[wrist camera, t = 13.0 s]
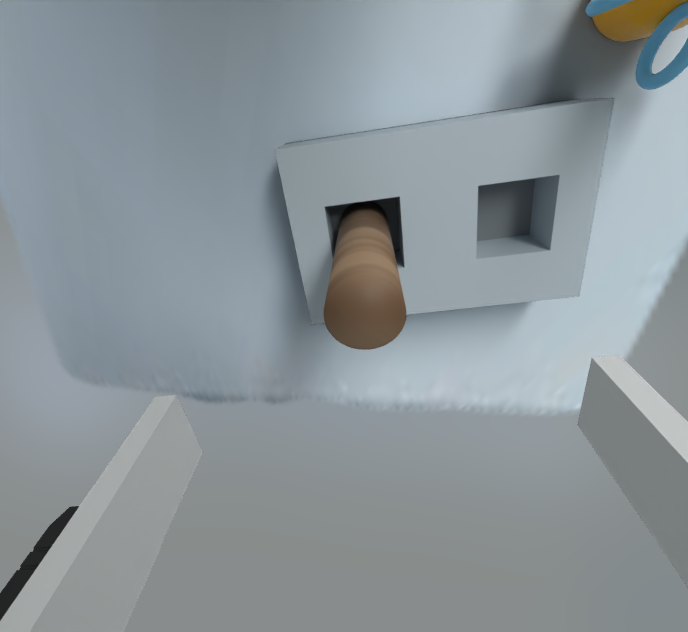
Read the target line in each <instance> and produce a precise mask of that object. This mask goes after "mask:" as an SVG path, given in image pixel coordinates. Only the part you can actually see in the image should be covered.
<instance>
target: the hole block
mask: <svg viewBox="0 0 688 632" xmlns="http://www.w3.org/2000/svg"><path fill="white" fill-rule="evenodd" d="M613 103H614V98H594V99H572V100H565V101H559V102H552V103H546V104H539V105H533V106H526V107H520V108H513V109H507V110H500V111H494V112H487V113H481V114H474V115H468V116H461V117H455V118H448V119H442V120H435V121H429V122H422V123H416V124H409V125H403V126H396V127H390V128H383V129H377V130H370V131H364V132H357V133H351V134H344V135H338V136H331V137H325V138H318V139H312V140H305V141H299V142H292V143H286V144H285V145H283V146H281V147H279V148H277V149H275V154H276V159H277V163H278V168H279V173H280V177H281V182H282V187H283V192H284V196H285V201H286V206H287V211H288V215H289V220H290V225H291V230H292V234H293V239H294V244H295V249H296V253H297V258H298V263H299V268H300V272H301V277H302V282H303V287H304V291H305V296H306V301H307V306H308V310H309V315H310V320H311V324H312V325H314V324H324V323H325V321H324V315H323V313H324V305H325V300H326V295H327V290H328V284H329V279H330V274H331V269H332V263H333V258H334V253H335V248H336V243H337V237H338V232H339V227H340V222H341V217H342V214H343V212H344V211H345V209H346V208H347V207H348V206H349V205H351V204H352V203H356V202H363V201H372V202H375V203H376V204H378V205H379V206H380V207H381V208H382V209H383V210H384V212H385V214H386V216H387V220H388V225H389V230H390V235H391V239H392V244H393V249H394V253H395V258H396V263H397V268H398V272H399V277H400V282H401V287H402V291H403V296H404V301H405V305H406V315H408V314H418V313H427V312H437V311H446V310H455V309H465V308H474V307H484V306H493V305H502V304H512V303H521V302H531V301H540V300H550V299H559V298H568V297H578V296H580V290H581V285H582V279H583V273H584V268H585V262H586V256H587V251H588V245H589V239H590V234H591V228H592V222H593V217H594V211H595V205H596V200H597V194H598V188H599V182H600V177H601V171H602V165H603V160H604V154H605V148H606V143H607V137H608V131H609V126H610V120H611V114H612V109H613Z"/></svg>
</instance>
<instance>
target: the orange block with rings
mask: <svg viewBox="0 0 688 632" xmlns="http://www.w3.org/2000/svg"><path fill="white" fill-rule="evenodd" d="M586 14H587V15H588V16H589V17H592V19H593V21H594V24H595V26H596V27H597V29H598V30H599V32H600V33H602V34H603V35H604V36H605V37H607V38H609V39H611V40H614V41H620V42H626V41H633V40H637V39H642V38H646V37H649V39H648V41H647V42H646V44H645V46H644V48H643V50H642V52H641V54H640V57H639V59H638V63H637V67H636V81H637V83H638V85H639V86H640V87H641V88H643V89H648V90H650V89H656V88H659V87H661V86H663V85H665V84H667V83H668V82H670V81H671V80H673V79H674V78H675V77H677V76H678V75H679V74H680V73H681V72H682V71H683V70H684V69H685V68H686V67H687V66H688V39H687V41H686V42H685V44H684V46H683V48H682V49H681V51H680V52H679V53H678V55H677V56H676V57H675V58H674V60H673V61H672V62H671V63H670V64H669V65H668V66H667V67H666V68H664V69H663V70H662V71H660V72H659V73H657V74H653V73H652V63H653V60H654V57H655V55H656V53H657V50H658V49H659V47H660V45H661V44H662V42H663V40H664V39H665V38H666V36H667V35H668V34H669V33H670V32H671V31H674V30H677V29H679V28H682V27H684V26H686V25H688V0H590V2H589V4H588V5H587V7H586Z"/></svg>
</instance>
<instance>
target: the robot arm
mask: <svg viewBox="0 0 688 632" xmlns="http://www.w3.org/2000/svg"><path fill="white" fill-rule="evenodd" d="M578 426H579V428H580V429H581V431H582V432H583V434H584V435H585V437H586V438H587V440H588V441H589V442H590V444H591V445H592V447H593V448H594V450H595V451H596V453H597V454H598V456H599V457H600V459H601V460H602V462H603V463H604V464H605V466H606V468H607V469H608V470H609V472H610V474H611V475H612V476H613V478H614V479H615V481H616V482H617V484H618V485H619V487H620V488H621V490H622V491H623V493H624V494H625V496H626V497H627V498H628V500H629V502H630V503H631V505H632V506H633V507H634V509H635V510H636V512H637V513H638V515H639V516H640V518H641V519H642V521H643V522H644V524H645V525H646V527H647V528H648V529H649V531H650V533H651V534H652V536H653V537H654V538H655V540H656V541H657V543H658V544H659V546H660V547H661V549H662V550H663V552H664V553H665V555H666V556H667V558H668V559H669V561H670V562H671V563H672V565H673V567H674V568H675V569H676V571H677V572H678V574H679V575H680V577H681V578H682V580H683V581H684V583H685V584H686V586H687V587H688V422H687V421H686V420H685V419H684V418H683V417H682V416H681V415H680V414H679V413H678V412H677V411H676V410H675V409H674V408H672V407H671V405H670V404H669V403H668V402H667V401H665V400H664V399H663V398H662V397H661V396H660V395H659V394H658V393H657V392H656V391H655V390H654V389H653V388H652V387H651V386H650V385H649V384H648V383H647V382H646V381H645V380H644V379H643V378H642V377H641V376H640V375H639V374H638V373H637V372H636V371H635V370H634V369H633V368H632V367H631V366H630V365H629V364H628V363H627V362H626V361H625V360H623V359H622V358H621V357H620V356H619V355H615V356H604V357H593V358H592V359H591V364H590V368H589V373H588V378H587V382H586V387H585V392H584V396H583V401H582V405H581V410H580V415H579V420H578ZM202 453H203V451H202V449H201V447H200V445H199V442H198V440H197V438H196V436H195V434H194V432H193V430H192V427H191V425H190V423H189V421H188V419H187V417H186V414H185V412H184V410H183V408H182V406H181V404H180V401H179V399H178V397H177V395H170V396H159V397H154V399H153V400H152V402H151V403H150V405H149V406H148V408H147V409H146V410H145V412H144V413H143V415H142V416H141V418H140V419H139V421H138V422H137V424H136V425H135V426H134V428H133V429H132V431H131V432H130V434H129V435H128V437H127V438H126V439H125V441H124V442H123V444H122V445H121V447H120V448H119V450H118V451H117V453H116V454H115V455H114V457H113V458H112V460H111V461H110V463H109V464H108V466H107V467H106V469H105V470H104V471H103V473H102V474H101V476H100V477H99V479H98V480H97V482H96V483H95V484H94V486H93V487H92V489H91V490H90V492H89V493H88V495H87V496H86V498H85V499H84V501H83V502H82V503H81V505H80V506H76V507H69V508H68V509H67V510H66V511H65V512H64V513H63V514H62V515H61V516H60V517H59V518H58V519H56V520H55V521H54V522H53V523H52V524H51V525H50V526H49V527H48V529H47V530H46V531H45V533H44V534H43V535H42V537H41V538H40V540H39V541H38V542H37V544H36V545H35V546H34V550H33V552H30V553H29V555H28V556H27V558H26V559H25V560H24V561H23V563H22V564H21V568H20V570H17V571H16V572H15V574H14V575H13V577H12V578H11V579H10V581H9V582H8V583H7V585H6V586H5V588H4V589H3V590H2V592H1V593H0V632H123V631H124V629H125V627H126V624H127V622H128V620H129V618H130V615H131V613H132V611H133V609H134V606H135V604H136V602H137V600H138V597H139V595H140V593H141V590H142V588H143V586H144V584H145V582H146V579H147V577H148V575H149V572H150V570H151V568H152V566H153V564H154V561H155V559H156V557H157V555H158V552H159V550H160V548H161V546H162V543H163V541H164V539H165V536H166V534H167V532H168V530H169V527H170V525H171V523H172V521H173V518H174V516H175V514H176V511H177V509H178V507H179V505H180V503H181V500H182V498H183V496H184V494H185V491H186V489H187V487H188V485H189V482H190V480H191V478H192V476H193V473H194V471H195V469H196V467H197V464H198V462H199V460H200V458H201V455H202Z"/></svg>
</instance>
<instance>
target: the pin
mask: <svg viewBox="0 0 688 632" xmlns="http://www.w3.org/2000/svg"><path fill="white" fill-rule="evenodd" d="M323 315H324V321H325V325H326V327H327V329H328V331H329V332H330V333H331V335H332V336H333V337H334V338H335V339H336V340H338V341H339V342H340V343H342V344H344V345H346V346H348V347H351V348H355V349H363V350H365V349H375V348H378V347H381V346H384V345H386V344H388V343H389V342H391V341H392V340H393V339H395V338H396V337H397V336H398V334H399V333H400V332H401V330H402V328H403V326H404V324H405V321H406V305H405V301H404V296H403V291H402V287H401V282H400V277H399V272H398V268H397V263H396V258H395V253H394V249H393V244H392V239H391V235H390V230H389V225H388V220H387V216H386V214H385V212H384V210H383V209H382V208H381V207H380V206H379V205H378V204H376V203H375V202H372V201H363V202H356V203H352V204H351V205H349V206H348V207H347V208H346V209H345V211H344V212H343V214H342V217H341V222H340V227H339V232H338V237H337V243H336V248H335V253H334V258H333V263H332V269H331V274H330V279H329V284H328V290H327V295H326V300H325V305H324V313H323Z"/></svg>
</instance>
